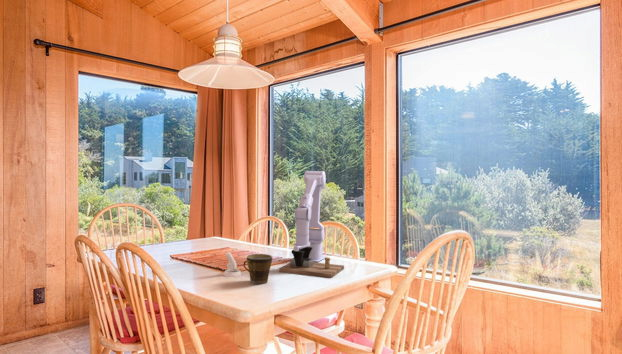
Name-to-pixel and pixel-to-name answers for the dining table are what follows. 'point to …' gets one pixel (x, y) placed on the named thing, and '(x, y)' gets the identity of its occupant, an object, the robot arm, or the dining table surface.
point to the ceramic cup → (258, 267)
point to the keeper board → (315, 269)
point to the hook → (231, 267)
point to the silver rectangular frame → (303, 262)
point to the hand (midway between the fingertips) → (301, 264)
